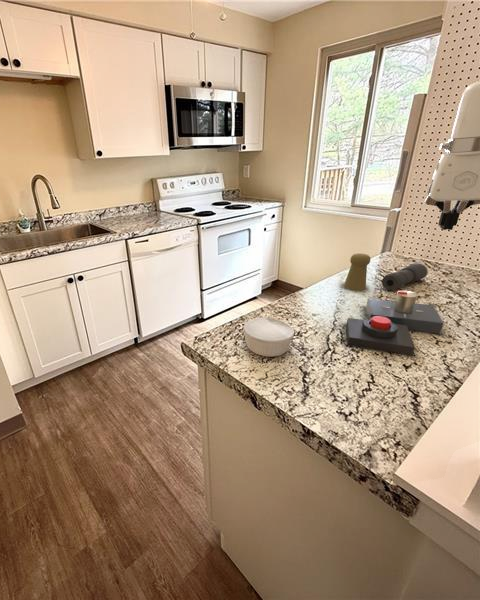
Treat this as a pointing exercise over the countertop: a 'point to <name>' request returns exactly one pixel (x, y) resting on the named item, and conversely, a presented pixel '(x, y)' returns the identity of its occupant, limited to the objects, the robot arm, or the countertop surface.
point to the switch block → (379, 336)
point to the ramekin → (268, 336)
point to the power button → (380, 322)
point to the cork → (357, 272)
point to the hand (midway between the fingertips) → (445, 228)
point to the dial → (404, 301)
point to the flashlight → (405, 276)
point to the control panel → (407, 315)
